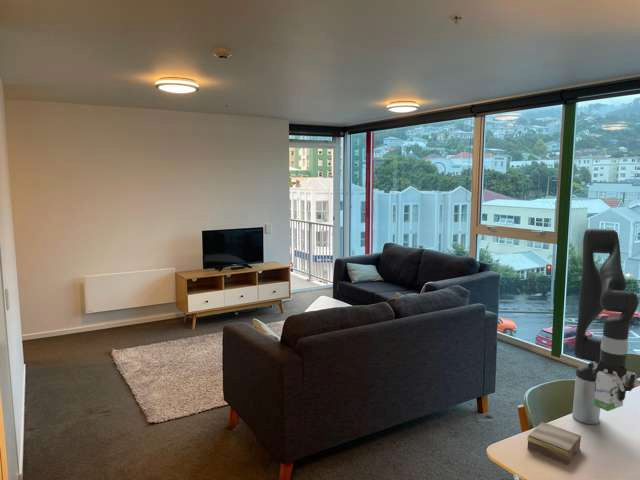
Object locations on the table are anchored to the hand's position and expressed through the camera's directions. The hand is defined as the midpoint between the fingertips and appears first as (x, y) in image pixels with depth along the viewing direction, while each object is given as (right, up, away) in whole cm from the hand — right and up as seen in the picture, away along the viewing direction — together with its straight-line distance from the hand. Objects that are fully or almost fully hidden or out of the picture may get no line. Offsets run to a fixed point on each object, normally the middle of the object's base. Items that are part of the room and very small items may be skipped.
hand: (609, 396), depth 158 cm
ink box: (0, -3, 0) cm, 3 cm away
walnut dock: (-15, -20, +7) cm, 26 cm away
